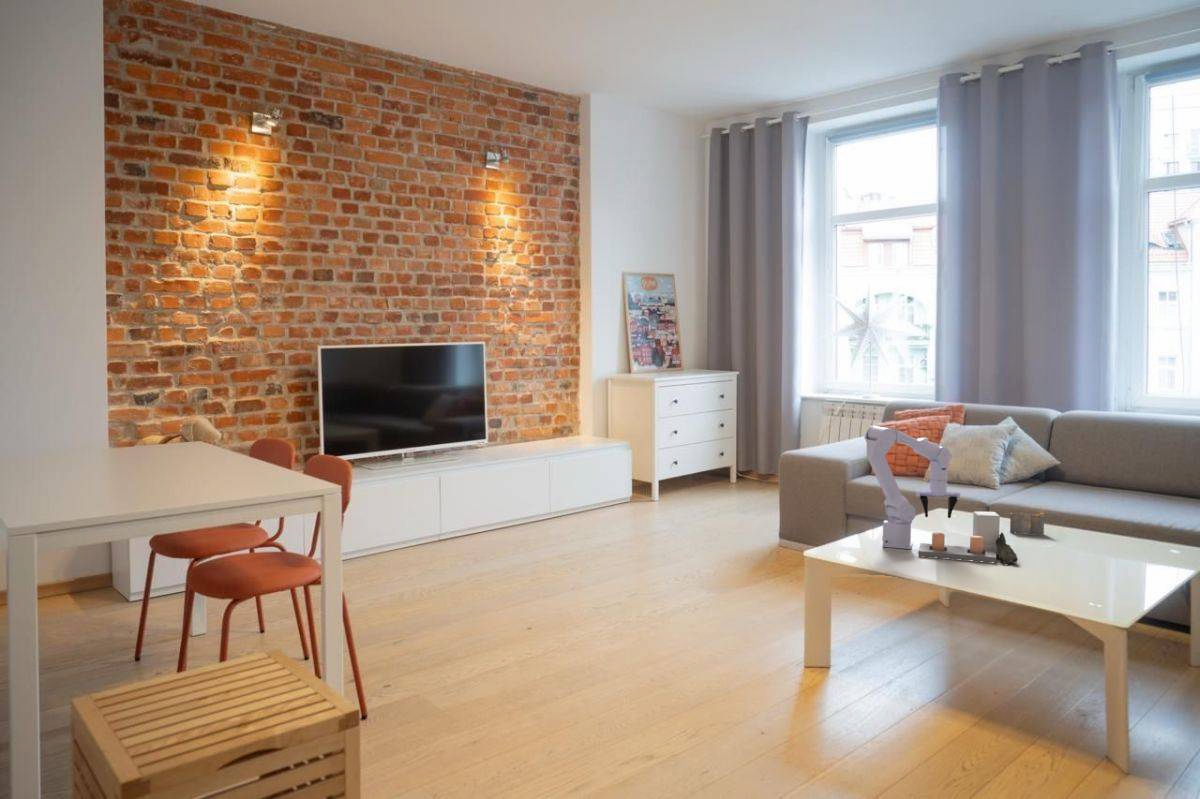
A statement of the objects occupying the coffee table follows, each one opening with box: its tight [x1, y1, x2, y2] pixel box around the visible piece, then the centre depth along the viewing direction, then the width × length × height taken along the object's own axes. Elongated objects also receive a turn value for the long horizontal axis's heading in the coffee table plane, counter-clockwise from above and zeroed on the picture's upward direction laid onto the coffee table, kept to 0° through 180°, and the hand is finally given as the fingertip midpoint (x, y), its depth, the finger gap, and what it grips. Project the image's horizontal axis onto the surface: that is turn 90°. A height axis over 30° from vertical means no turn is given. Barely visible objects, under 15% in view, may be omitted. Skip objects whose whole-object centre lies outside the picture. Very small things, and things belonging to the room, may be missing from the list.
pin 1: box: [931, 532, 946, 551], centre depth 302 cm, size 4×4×7 cm
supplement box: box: [972, 511, 1001, 551], centre depth 309 cm, size 7×7×13 cm
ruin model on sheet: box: [1009, 509, 1045, 536], centre depth 332 cm, size 11×3×10 cm, turn 64°
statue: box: [996, 532, 1018, 566], centre depth 297 cm, size 6×6×20 cm
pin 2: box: [969, 535, 983, 554], centre depth 297 cm, size 4×4×7 cm
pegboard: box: [917, 542, 997, 564], centre depth 300 cm, size 24×12×2 cm, turn 67°
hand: (937, 517), depth 318 cm, fingers open, 7 cm apart
